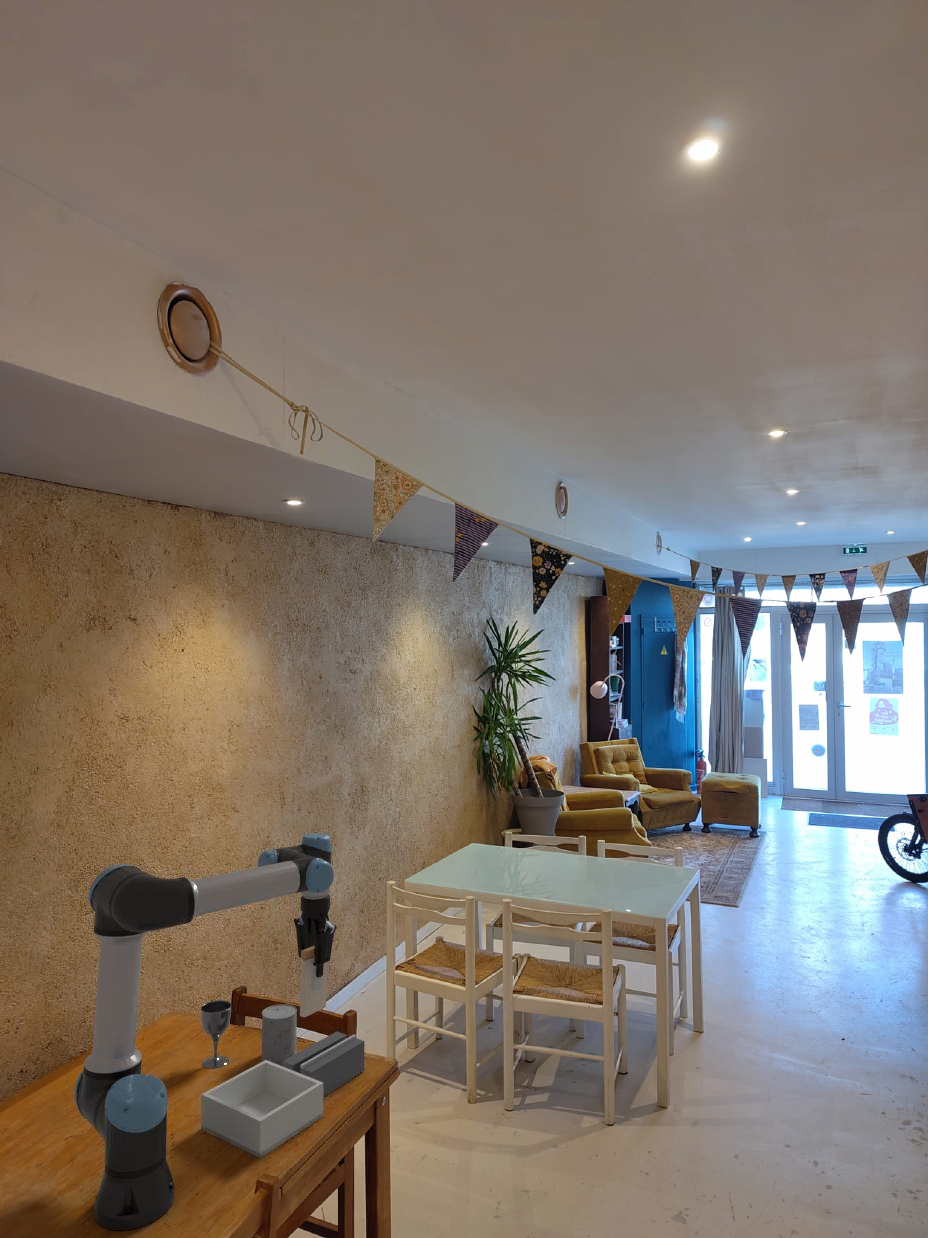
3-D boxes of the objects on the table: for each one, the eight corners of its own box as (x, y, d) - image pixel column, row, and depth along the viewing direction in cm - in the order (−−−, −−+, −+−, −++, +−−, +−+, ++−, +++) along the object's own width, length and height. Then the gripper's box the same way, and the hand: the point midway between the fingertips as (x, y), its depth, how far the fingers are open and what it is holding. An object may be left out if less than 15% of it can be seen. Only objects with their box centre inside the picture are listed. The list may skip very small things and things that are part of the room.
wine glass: (194, 1067, 224) (194, 1010, 225) (211, 1053, 232) (212, 998, 232) (219, 1071, 222) (220, 1014, 222) (236, 1057, 229) (236, 1002, 230)
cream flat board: (304, 1018, 210) (305, 952, 210) (299, 1016, 211) (301, 950, 211) (326, 1007, 216) (327, 943, 217) (321, 1005, 217) (323, 942, 218)
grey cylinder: (300, 1049, 234) (301, 1005, 235) (290, 1066, 225) (290, 1020, 225) (268, 1047, 235) (268, 1003, 236) (256, 1064, 226) (256, 1018, 226)
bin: (259, 1158, 184) (260, 1121, 184) (201, 1129, 195) (201, 1094, 195) (323, 1116, 200) (323, 1083, 201) (265, 1092, 211) (265, 1060, 212)
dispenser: (311, 1105, 205) (311, 1069, 206) (282, 1093, 211) (282, 1058, 211) (364, 1071, 222) (364, 1038, 222) (336, 1061, 227) (336, 1028, 228)
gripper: (346, 896, 214) (344, 990, 213) (305, 887, 222) (303, 977, 221) (326, 903, 208) (324, 999, 207) (285, 893, 216) (282, 986, 215)
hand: (313, 988), depth 214 cm, fingers closed on cream flat board, 1 cm apart
